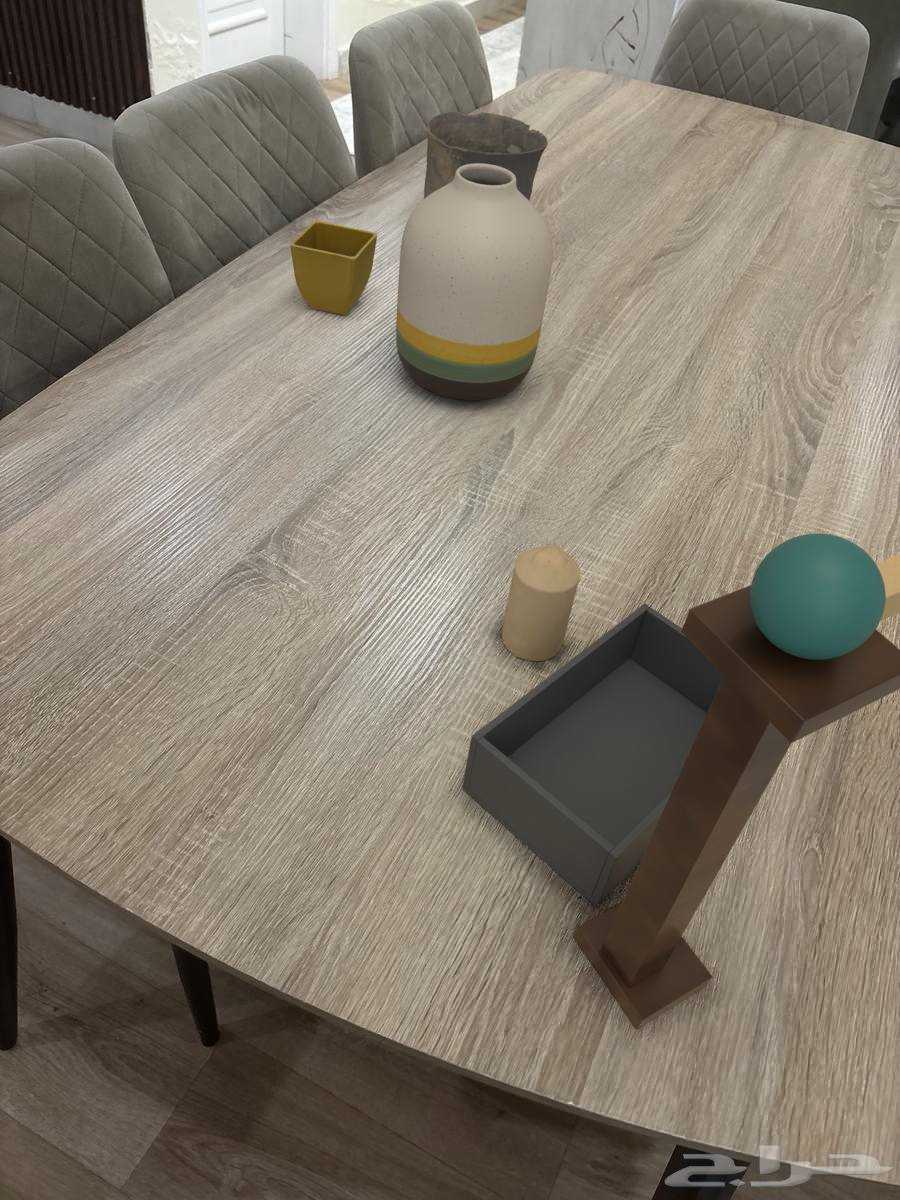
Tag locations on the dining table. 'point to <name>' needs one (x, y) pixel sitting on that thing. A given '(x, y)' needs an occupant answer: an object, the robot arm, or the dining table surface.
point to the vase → (472, 285)
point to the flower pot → (332, 265)
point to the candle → (540, 602)
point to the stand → (721, 793)
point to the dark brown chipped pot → (481, 148)
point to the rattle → (822, 595)
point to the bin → (596, 750)
